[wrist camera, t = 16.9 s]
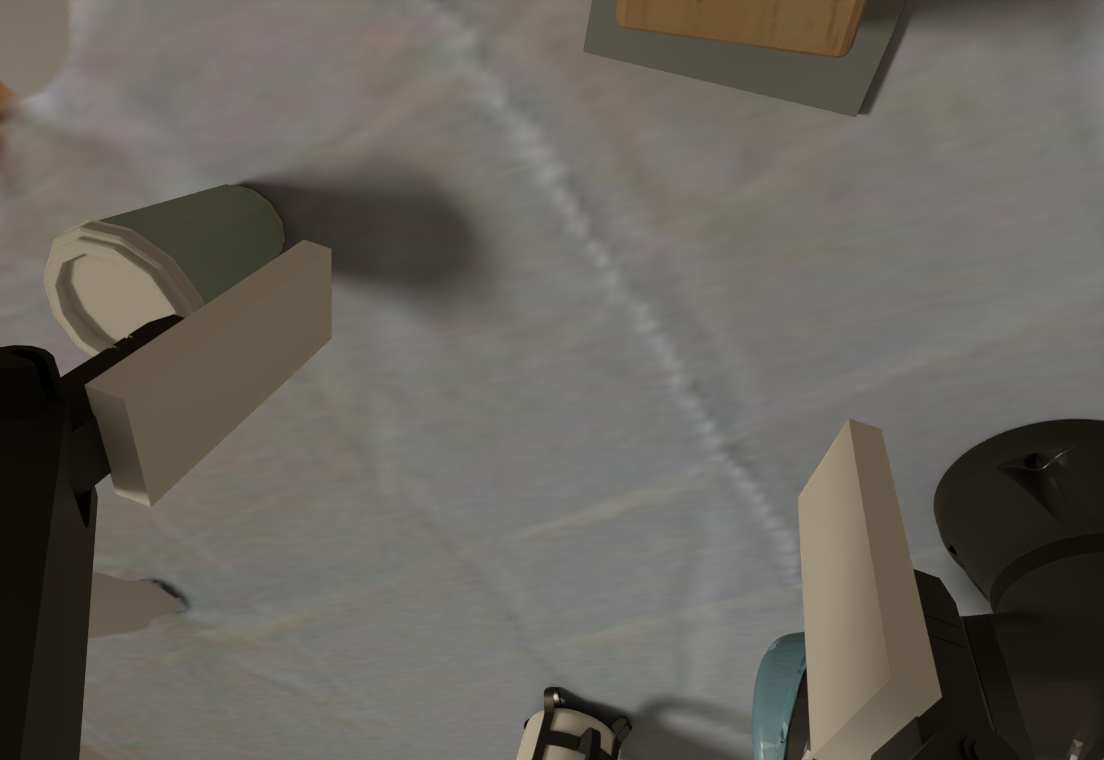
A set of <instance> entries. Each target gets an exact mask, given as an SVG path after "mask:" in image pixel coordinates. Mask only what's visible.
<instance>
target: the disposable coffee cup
mask: <svg viewBox="0 0 1104 760" xmlns="http://www.w3.org/2000/svg"><path fill="white" fill-rule="evenodd" d="M284 242H285V235H284V227H283V221H282V220H281V218H280V217H279V215H278V213H277V212H276V210H275V209H274V207H273V205H272V204H271V202H269V201H268V200H267V199H265V198H264V197H263V196H261V195H260V194H259V193H257V192H256V191H255V190H253V189H250V188H245V187H241V186H236V185H227V184H225V185H222V186H218V187H215V188H211V189H208V190H204V191H201V192H197V193H194V194H190V195H187V196H183V197H179V198H176V199H172V200H169V201H165V202H162V203H158V204H155V205H151V206H148V207H144V208H141V209H137V210H134V211H130V212H127V213H123V214H120V215H116V216H113V217H109V218H106V219H102V220H99V221H96V220H92V219H90V220H88V221H86V222H84V223H81V224H79V225H77V226H75V227H73V228H71V229H69V230H66V231H64V232H63V234H62V235H61V236H59V237H57V238H55V239H54V240H53V244H52V249H51V253H50V256H49V259H48V263H47V266H46V270H45V273H44V277H43V281H44V284H45V288H46V291H47V295H48V298H49V301H50V305H51V308H52V312H53V315H54V316H55V317H56V319H57V320H58V321H59V323H60V324H61V325H62V327H63V328H64V329H65V331H66V332H67V333H68V335H69V336H70V337H71V339H72V340H73V341H74V343H75V344H76V345H77V347H79V348H80V349H82V350H83V351H85V352H86V353H88V354H89V355H91V356H92V357H94V356H96V355H97V354H99V353H100V352H102V351H103V350H105V349H107V348H111V347H112V345H113V344H115V343H116V342H118V341H119V340H121V339H122V338H124V337H125V338H127V337H128V335H129V334H130V333H132V332H134V331H135V330H137V329H138V328H140V327H141V326H143V325H145V324H146V323H148V322H151V321H154V320H157V319H160V318H163V317H166V316H170V315H173V314H176V315H178V316H181V317H184V318H186V317H188V316H189V315H191V314H192V313H194V312H195V311H197V310H198V309H200V308H201V307H203V306H205V305H206V304H208V303H209V302H211V301H212V300H214V299H215V298H217V297H218V296H220V295H221V294H223V293H224V292H226V291H227V290H229V289H230V288H232V287H233V286H235V285H236V284H238V283H239V282H241V281H242V280H244V279H245V278H247V277H248V276H250V275H251V274H253V273H254V272H256V271H257V270H259V269H260V268H262V267H263V266H265V265H266V264H268V263H269V262H271V261H272V260H274V259H275V258H277V257H278V256H279V254H280V252H281V250H282V248H283V244H284Z"/></svg>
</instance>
